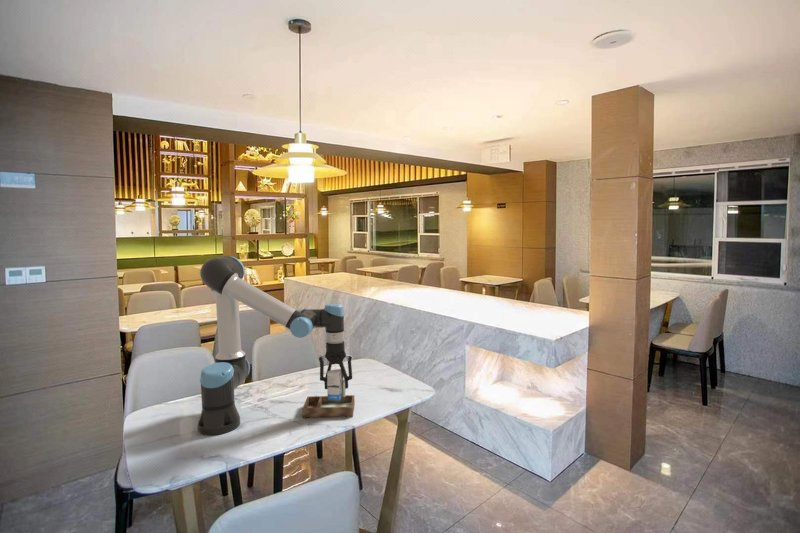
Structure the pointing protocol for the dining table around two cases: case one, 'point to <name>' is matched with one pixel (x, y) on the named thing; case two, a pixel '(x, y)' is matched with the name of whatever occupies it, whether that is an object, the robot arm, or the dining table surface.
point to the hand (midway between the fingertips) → (336, 396)
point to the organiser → (328, 407)
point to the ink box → (335, 384)
